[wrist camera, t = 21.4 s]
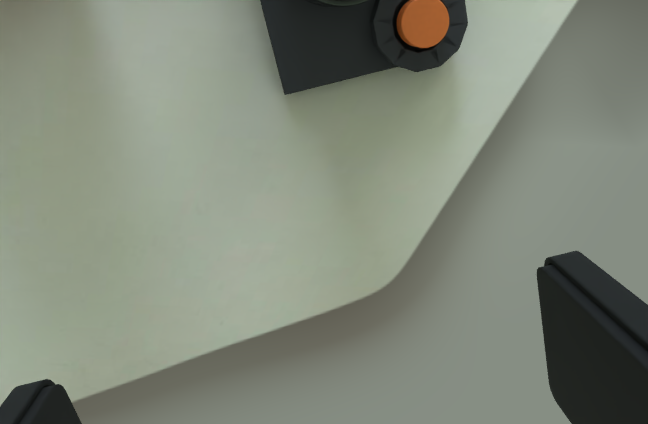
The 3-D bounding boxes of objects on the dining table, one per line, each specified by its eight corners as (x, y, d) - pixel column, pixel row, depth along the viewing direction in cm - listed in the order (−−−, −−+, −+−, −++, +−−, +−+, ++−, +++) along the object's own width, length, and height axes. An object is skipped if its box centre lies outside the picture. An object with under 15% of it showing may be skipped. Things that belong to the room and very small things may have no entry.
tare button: (446, 40, 35) (453, 41, 34) (400, 52, 35) (406, 53, 34) (438, -9, 34) (445, -10, 33) (392, 3, 34) (396, 2, 33)
